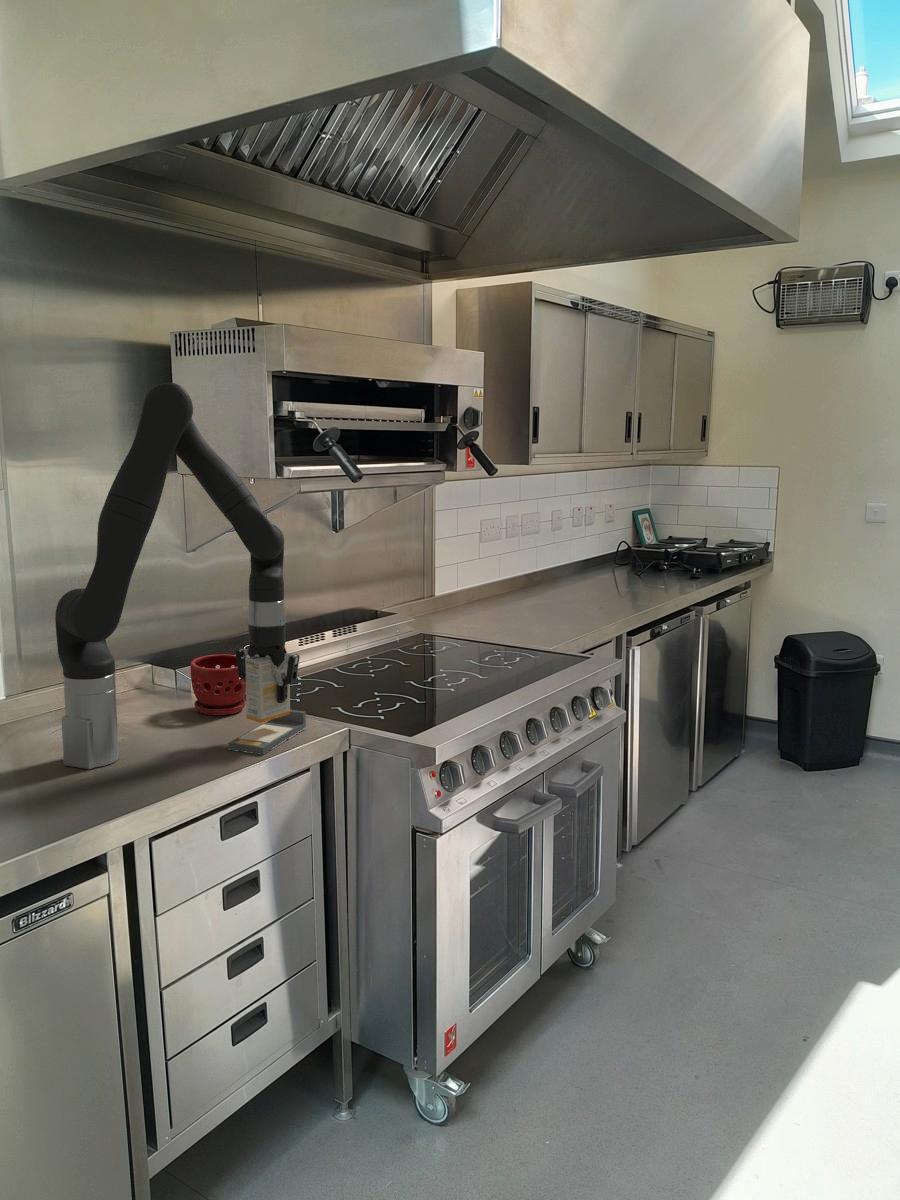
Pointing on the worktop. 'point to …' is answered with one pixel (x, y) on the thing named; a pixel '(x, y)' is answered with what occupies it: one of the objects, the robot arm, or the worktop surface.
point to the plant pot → (217, 685)
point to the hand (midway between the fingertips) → (267, 700)
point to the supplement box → (263, 691)
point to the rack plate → (270, 733)
